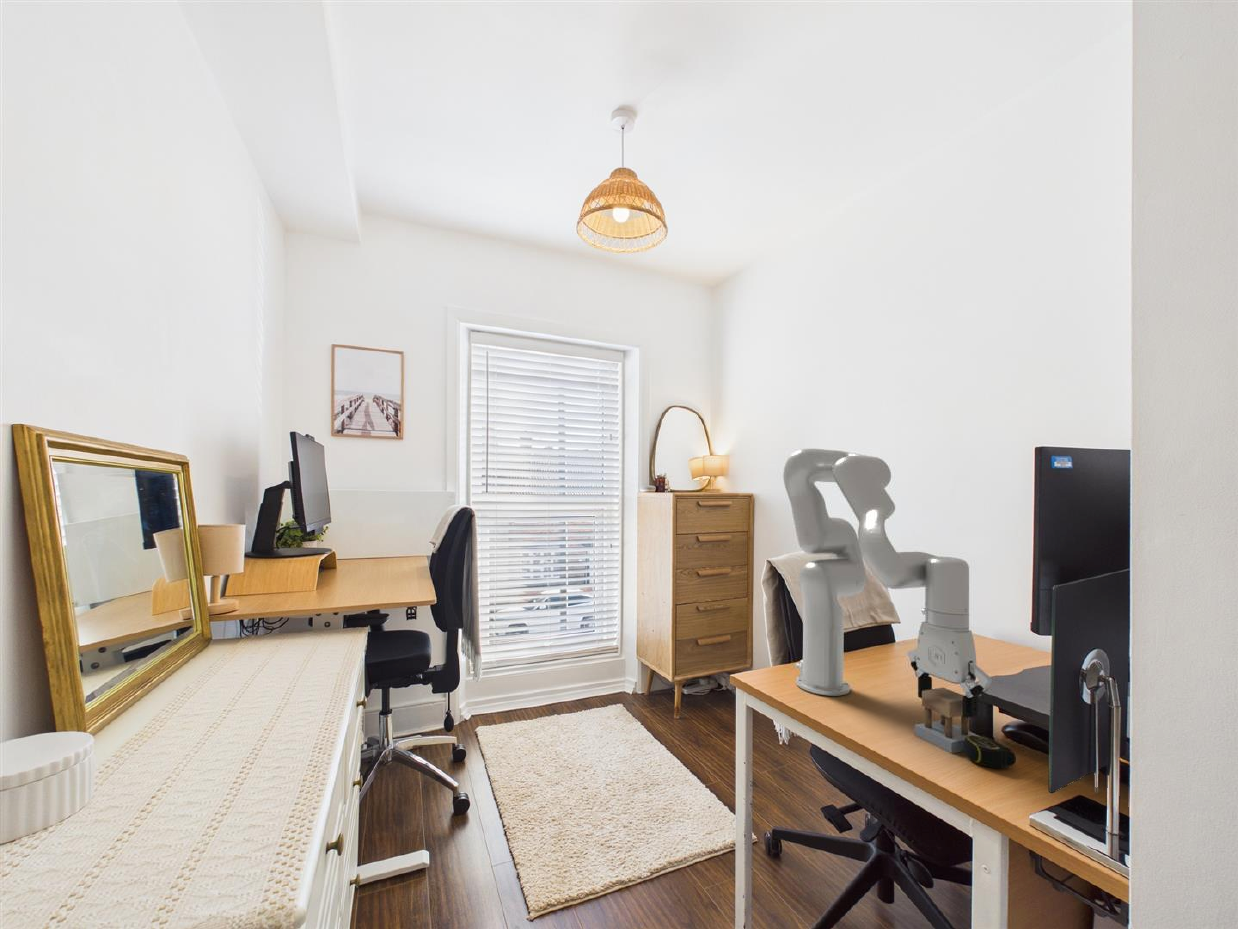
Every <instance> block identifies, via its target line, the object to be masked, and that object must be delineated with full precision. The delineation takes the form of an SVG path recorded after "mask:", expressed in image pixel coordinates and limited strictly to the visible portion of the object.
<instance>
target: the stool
mask: <svg viewBox="0 0 1238 929" xmlns="http://www.w3.org/2000/svg"><path fill="white" fill-rule="evenodd" d="M963 696H965V694H964V695H963V694H961V693H959V692H955V691H953V690H951V689H948V688H945V687H937V688H932V689H930V690H924V691H922V698H921V706H922V707H924V723H925V727H926V728H932V722H933V712H935V713H938V714H939V715H940V720H941V724H942V725H945V737H947V738H952V724H953V718H957V717H960V727H961V733H962V734H964V735H968V731H969V718H966V717H964V716H963Z"/></svg>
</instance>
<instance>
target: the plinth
mask: <svg viewBox="0 0 1238 929" xmlns="http://www.w3.org/2000/svg"><path fill="white" fill-rule="evenodd" d="M970 735H975V736H979V735H978V734H976V733H974V732H971V731H970V730H968V735H964V734H962V733H961V726H958V725H956V724H955V723H954V724H953V723H952V738H947V737H945V725H942V724H941V719H940V720H939V719H938V720H935V721H933V720H932V728H926V727H925V722H924V723H923V722H922V723H917V724H914V736H916V737H919V738H921V739H922V740H923V741H924V740H925V741H926V742H928V743H930V744H932V745H933V746H937V748H940V749H941V750H944V751H946V752H948V753H950V754H954V753H961V752H964V741H965V738H966V737H967V736H970Z"/></svg>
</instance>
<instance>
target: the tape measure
mask: <svg viewBox="0 0 1238 929" xmlns="http://www.w3.org/2000/svg"><path fill="white" fill-rule="evenodd" d="M963 752H964V754H965V756H966V757H967V758H968V759H969V760H971V761H973V762H974V763H977V764H980V765H981V766H983V767H989V768H994V769H1001V768H1005V767H1011V766H1014V765H1015V764H1016V760H1017V756H1016V754H1015V752H1014V751H1012V750H1011V749H1010V748H1008V747H1007V746H1005V745H1003V744H1001V743H999V742H998V741H996V740H994V739H992V738H991V737H989V736H987V735H984V734H983V735H978V736H975V735H970V736H967V737H966V738H965V741H964V751H963Z"/></svg>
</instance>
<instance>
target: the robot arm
mask: <svg viewBox="0 0 1238 929" xmlns="http://www.w3.org/2000/svg"><path fill="white" fill-rule="evenodd" d="M782 473H783V475H782V476H783V477H782V478H783V484H784V487H785V490H786V494H787V495H788V496H787V497H788V499H789V502H790V507H791V511H792V518H793V522H794V527H795V532H796V538H797V542H798V545H799V548H800V549H801V550H802V551H803V552H804V553H805V554H809V555H816V556H817V555H829V558H828V559H826V558H824V559H823V558H822V559H814V560H811V561H809V562H806V564H804V565H803V566H802V568H801V569H800V573H799V578H798V579H799V586H800V591H801V596H802V612H803V613H802V614H803V615H802V635H803V636H802V659H801V660H799V662H796V663H795V668H796V669H798V670H800V675H797V677H796V679H795V682H796V685H797V687H799V688H800V689H802V690H804V691H806V692H809V693H813V694H816V695H821V696H830V697H831V696H832V697H839V696H840V697H841V696H844V695H847V694H849V693H850V692H851V686H850V683H848V682H847V681H845V680H844V644H845V643H844V639H845V638H844V636H845V635H844V633H845V632H844V631H845V628H844V627H845V626H844V625H845V624H844V622H845V621H844V613H843V609H842V607H841V605H840V603H839V600H838V598H840V597H842V598H843V597H850V596H851V597H852V596H856V595H858V594H860V593H861V592H863V590H864V588H865V586H866V583H867V574H866V568H865V563H866V565H867V566H868V569H869V570H870V572H871V573H872V575H873V576H874V577H875V579H876V580H877V582H879V583H880V584H881V585H882V586H884V587H886V588H889V589H890V590H891V589H892V590H902V589H904V590H905V589H911V588H912V589H915V588H916V589H917V588H925V590H924V592H925V593H924V594H925V596H924V597H925V599H924V601H925V602H924V605H925V608H924V607H922V609H921V614H923V615H924V621H922V622H921V624H920V627H919V631H918V636H917V645H916V649H911V650H908V651H907V656H908V658H909V661H910V666H911V667H912V669H913V671H914V675H915V677H916V678H917V698H919V699H922V691H924V690H930V689H933V679H932V678H933V677H936V678H938V679H940V680H943V681H945V682H948V683H951V684H955V685H959V687H960V688H961V689H962V690H963V692H964V696H963V716H964V717H966V718H968V719H970V718H974V717H977V716H978V713H979V697H981V696H982V695H983V694H984V693H986V692H987V691H988V688H989V687H990V685H991V684H992V681H993V679H992V678H991V677H990V675H988V674H987V673H986V672H985V671H984V670H982V669H981V668H980V667H979V666H978V665H977V653H976V652H977V651H976V645H975V639H974V634H973V631H972V630H970V566H969V564H968V562H967V561H966V560H964V559H962V558H958V557H949V556H937V555H934V554H931V553H926V552H923V551H898V552H897V550H896V549H895V548H894V546H893V545H892V543H891V541H890V540H889V537H888V535H887V532H886V529H885V523H886V520H887V519H889V518H890V517H891V516H892V515H893V514H894V513H895V510H896V504H895V503H894V500H892V498H891V496H890V495H889V493H888V492H887V490H886V489H885V488H887V487H888V485H889V484H890V481H891V479H892V474H891V469H890V467H889V465H888V464H887V463H886V461H884V460H883V459H882V458H879V457H877V456H870V455H865V454H859V453H854V452H849V451H843V450H835V449H833V450H832V449H822V448H803V449H799V450H796V451H794V452H793V453H792V454H791V455H790V456H789V457H788V458H787V459H786V462H785V464H784V468H783V472H782ZM816 482H820V483H836V484H837V486H838V488H839V490H840V491H841V493H842V496H844V498H845V500H846V501H847V503H848V505H849V507H850V508H851V509H852V512H853V514H854V515H855V517H856V519H857V520H858V530H857V532H856V530H855V528H854V526H853V525H852V523H850V522H849V521H847V520H846V519H843V518H841V517H830V516H829V513H828V510H827V506H826V501H825V498H824V496H823V494H822V493H821V491H820V490H819V489H818V487H817V486H816V485H815V483H816ZM864 561H865V563H864ZM932 676H933V677H932ZM977 679H978V682H977V683H976V680H977Z"/></svg>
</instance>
